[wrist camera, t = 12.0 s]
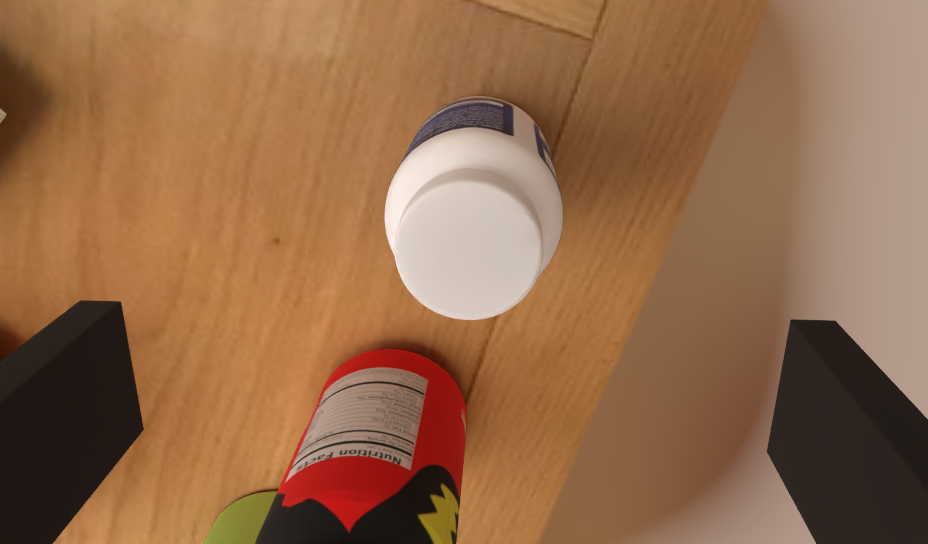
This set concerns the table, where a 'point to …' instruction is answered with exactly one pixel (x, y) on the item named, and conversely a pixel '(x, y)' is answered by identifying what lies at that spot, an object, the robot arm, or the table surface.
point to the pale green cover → (2, 115)
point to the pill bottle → (474, 209)
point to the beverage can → (376, 458)
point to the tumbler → (241, 520)
